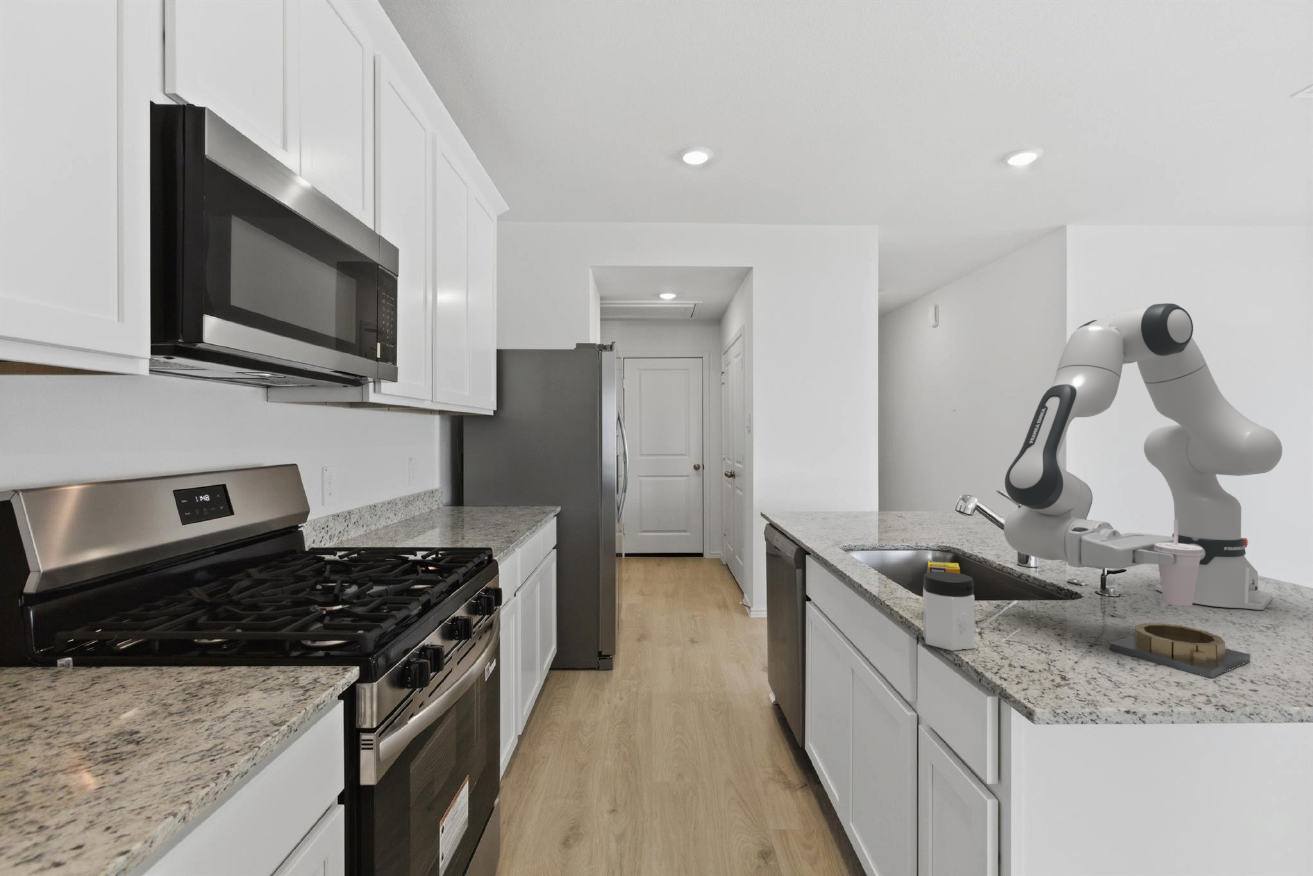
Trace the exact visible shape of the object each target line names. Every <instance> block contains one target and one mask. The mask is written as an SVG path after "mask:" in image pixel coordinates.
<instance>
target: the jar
mask: <svg viewBox="0 0 1313 876" xmlns="http://www.w3.org/2000/svg"><path fill="white" fill-rule="evenodd" d="M922 588H923V589H922V590H923V591H922V609H923V610H922V621H923V622H922V623H923V624H922V637H923V639H924V642H925V644H926V645H928V646H931V647H935V648H939V649H943V650H947V651H951V652H953V651H954V652H955V650H956V651H963V650H962V649H966V650H972V649H973V650H974V649H975V609H976V608H975V602H976V601H975V595H974V589H975V583H974V579H973V577H971V576H970V575H967V574H964V573H961V572H960V573H953V572H928V573H927V572H925V573H924V574H923V587H922Z"/></svg>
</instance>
